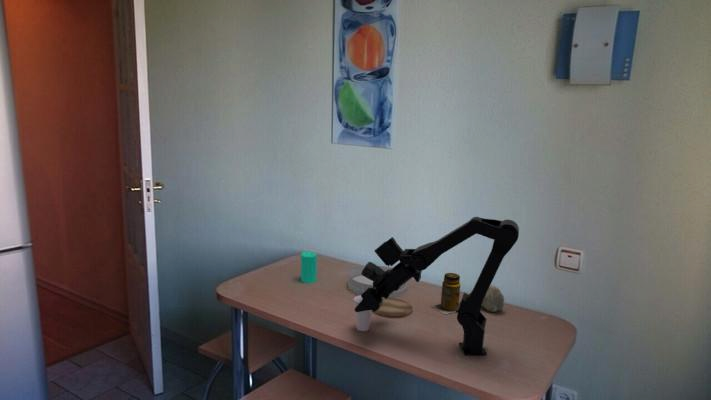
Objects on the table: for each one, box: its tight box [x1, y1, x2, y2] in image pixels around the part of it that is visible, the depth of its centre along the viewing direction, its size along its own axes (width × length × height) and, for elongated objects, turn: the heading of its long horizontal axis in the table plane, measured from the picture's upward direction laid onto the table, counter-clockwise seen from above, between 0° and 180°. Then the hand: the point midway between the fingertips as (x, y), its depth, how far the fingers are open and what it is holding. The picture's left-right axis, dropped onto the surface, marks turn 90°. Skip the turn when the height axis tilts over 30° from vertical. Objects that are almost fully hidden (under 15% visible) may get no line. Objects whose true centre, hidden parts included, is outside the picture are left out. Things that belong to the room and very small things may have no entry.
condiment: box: [430, 272, 461, 315], centre depth 170 cm, size 7×8×12 cm
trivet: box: [372, 297, 413, 319], centre depth 168 cm, size 14×14×1 cm
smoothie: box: [353, 286, 373, 332], centre depth 152 cm, size 6×6×14 cm
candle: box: [300, 251, 318, 284], centre depth 191 cm, size 6×6×12 cm
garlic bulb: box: [481, 284, 505, 312], centre depth 171 cm, size 9×8×10 cm
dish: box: [347, 265, 408, 298], centre depth 188 cm, size 22×22×5 cm
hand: (359, 306), depth 152 cm, fingers open, 7 cm apart
